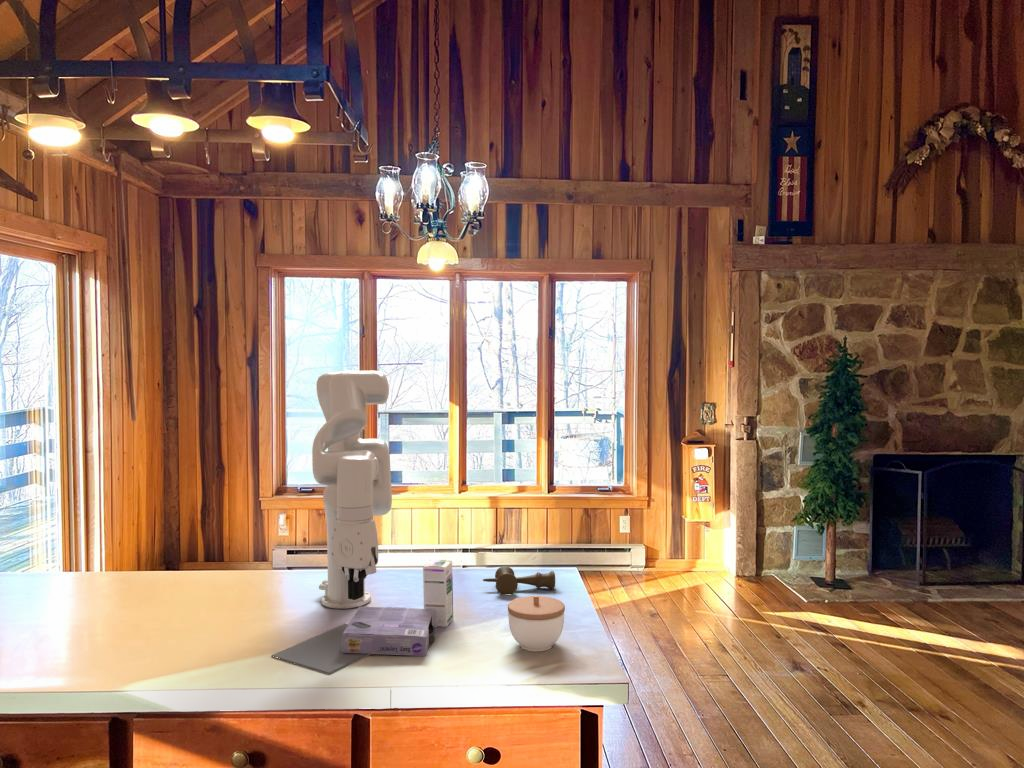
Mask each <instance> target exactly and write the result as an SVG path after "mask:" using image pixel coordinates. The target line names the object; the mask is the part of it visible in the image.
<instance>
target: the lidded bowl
mask: <svg viewBox="0 0 1024 768" xmlns="http://www.w3.org/2000/svg"><path fill="white" fill-rule="evenodd" d="M565 606H566V605H565V604H564V602H562V601H561V600H560V599H557V598H555V597H550V596H544V595H542V596H541V595H537V594H536V595H528V596H521V597H517V598H515V599H512V600H511V601H510V602H509V603H508V604H507V612H508V614H507V615H508V616H507V618H508V625H509V631H510V633H511V635H512V637H513V639H514V641H515V642H517V644H519V646H521V647H522V648H521V647H520V648H521V649H523V650H524V651H529V652H544V651H545V652H546V651H548V650H550V649H552V648H553V645H554V644H555V643H557V641H558V640H559V639H560V637H561V635H562V632H563V629H564V623H565V610H566V607H565Z"/></svg>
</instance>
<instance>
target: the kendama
mask: <svg viewBox="0 0 1024 768" xmlns="http://www.w3.org/2000/svg"><path fill="white" fill-rule="evenodd" d="M482 581H483V582H486V583H487V582H489V583H490V582H493V583H495V588H496V591H497V593H499V594H500V595H502V594H512V595H513V594H515V593H516V591H517V590H518V586H519V584H522V585H529V586H534V587H536V588H537V589H540V588H548V589H550V590H551V591H553V590H555V587H556V574H555V571H554V570H550V571H549V572H547V573H541V572H539V571H538V572H536V573H535V574H532V575H527V576H526V575H525V576H518V577H516V576H515V571H514V569H513V568H511V567H509V566H500V567H498V568H497V569H496V571H495V574H494V578H492V577H491V578H483V579H482Z"/></svg>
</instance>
